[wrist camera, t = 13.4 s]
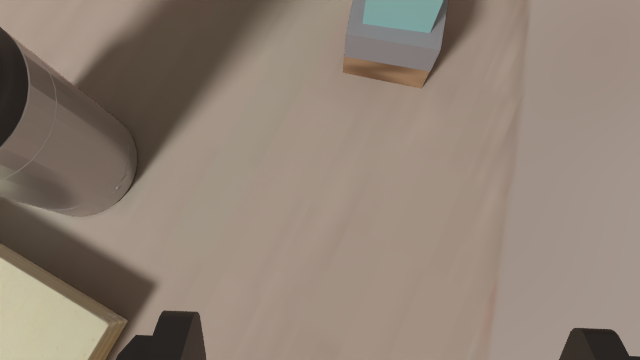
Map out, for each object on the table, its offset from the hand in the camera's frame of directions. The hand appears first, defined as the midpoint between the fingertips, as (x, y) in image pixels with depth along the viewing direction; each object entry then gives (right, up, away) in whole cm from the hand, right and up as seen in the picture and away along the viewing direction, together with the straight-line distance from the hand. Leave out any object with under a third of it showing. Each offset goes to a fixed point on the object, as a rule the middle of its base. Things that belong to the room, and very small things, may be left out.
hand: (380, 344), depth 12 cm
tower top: (+5, +16, +33) cm, 37 cm away
